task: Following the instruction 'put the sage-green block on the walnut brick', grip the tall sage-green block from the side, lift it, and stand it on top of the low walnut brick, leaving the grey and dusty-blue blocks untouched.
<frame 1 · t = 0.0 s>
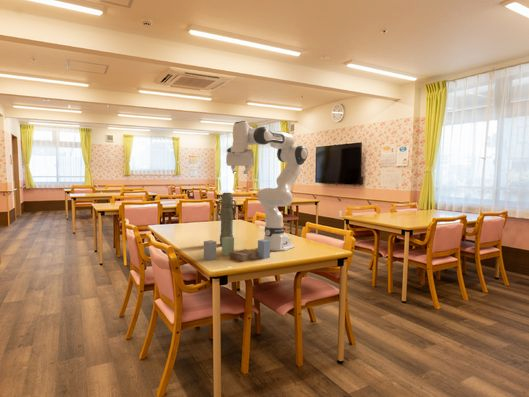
hand: (239, 173, 198), 48 cm above the table, tool pointing down, fingers open, 8 cm apart
thermos: (226, 244, 233), on the table
walnut brick: (244, 259, 197), on the table
grey block: (209, 258, 194), on the table
green block: (227, 254, 207), on the table
blue block: (263, 257, 200), on the table
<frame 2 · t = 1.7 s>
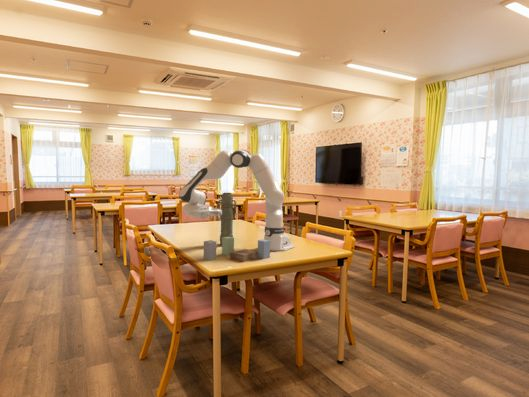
hand: (215, 214, 213), 23 cm above the table, tool horizontal, fingers open, 8 cm apart
nothing on the table moved.
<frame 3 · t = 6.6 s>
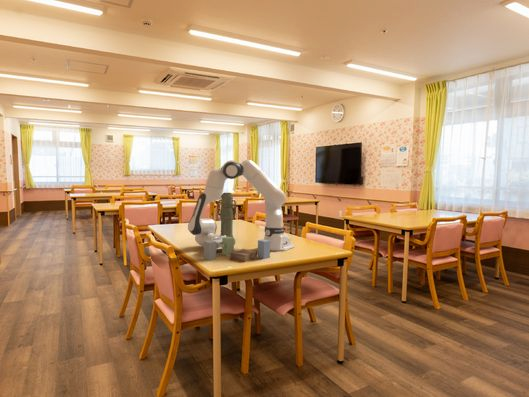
hand: (229, 245, 206), 6 cm above the table, tool horizontal, fingers closed on green block, 5 cm apart
green block: (227, 254, 207), on the table, touching gripper
everything else where it was.
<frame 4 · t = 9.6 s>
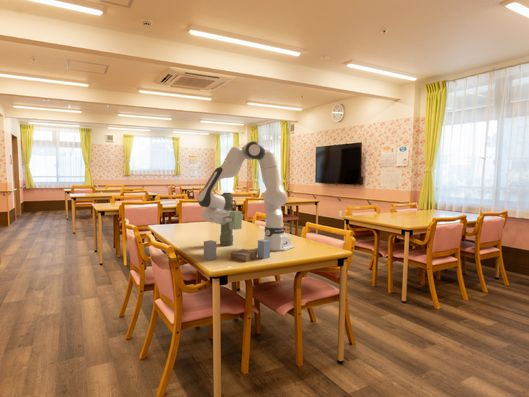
hand: (236, 219, 200), 22 cm above the table, tool horizontal, fingers closed on green block, 5 cm apart
green block: (235, 228, 201), point 16 cm above the table, touching gripper
everything else where it was.
when the fingers open (11 cm above the table, at t = 12.7 s): green block drops 2 cm, resting on walnut brick.
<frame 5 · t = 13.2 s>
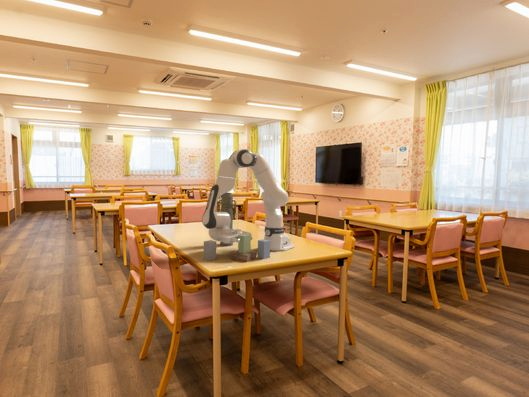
hand: (245, 239, 196), 11 cm above the table, tool horizontal, fingers open, 8 cm apart
walnut brick: (243, 259, 197), on the table, touching green block
green block: (244, 252, 197), point 4 cm above the table, touching walnut brick
everything else where it was.
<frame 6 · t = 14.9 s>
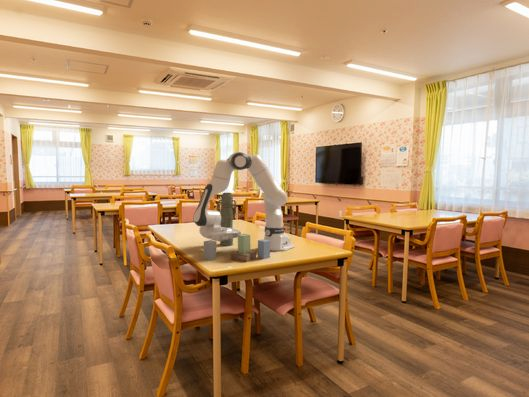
hand: (234, 237, 202), 11 cm above the table, tool horizontal, fingers open, 8 cm apart
nothing on the table moved.
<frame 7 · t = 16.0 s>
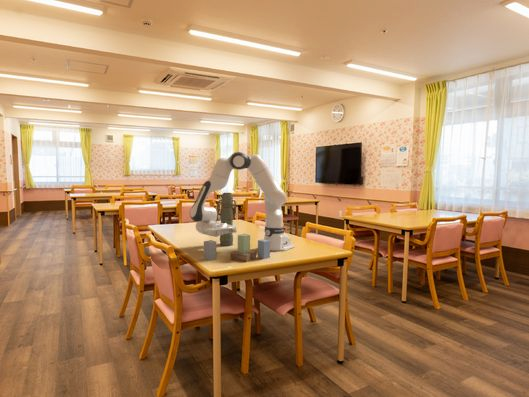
hand: (229, 232, 205), 13 cm above the table, tool horizontal, fingers open, 8 cm apart
walnut brick: (243, 259, 197), on the table
green block: (243, 252, 197), point 4 cm above the table
everything else where it was.
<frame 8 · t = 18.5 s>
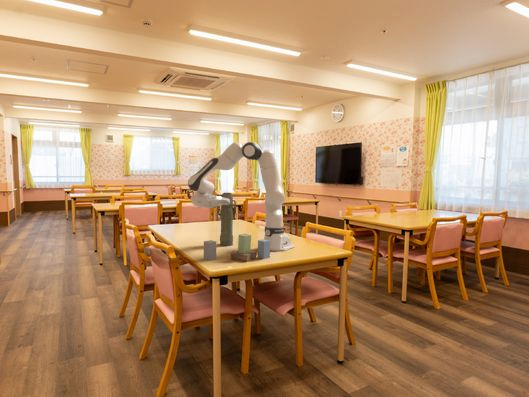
hand: (223, 203, 211), 30 cm above the table, tool horizontal, fingers open, 8 cm apart
walnut brick: (243, 259, 197), on the table, touching green block
green block: (243, 252, 197), point 4 cm above the table, touching walnut brick
everything else where it was.
at the end: green block inside the target area on the walnut brick (0.0 cm from its centre), point 4.1 cm above the walnut brick's base; grey block moved 0.0 cm from its start; blue block moved 0.0 cm from its start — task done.
